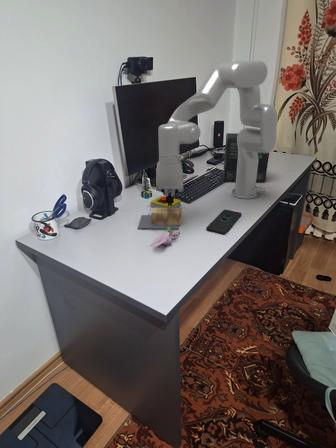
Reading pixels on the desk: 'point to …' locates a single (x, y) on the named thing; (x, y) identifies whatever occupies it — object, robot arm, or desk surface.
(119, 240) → the desk surface
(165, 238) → the pink creature figurine
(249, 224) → the desk surface
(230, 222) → the smart home device
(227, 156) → the headset box
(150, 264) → the desk surface
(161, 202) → the emergency button
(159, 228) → the charcoal mat
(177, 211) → the oak block
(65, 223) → the desk surface
